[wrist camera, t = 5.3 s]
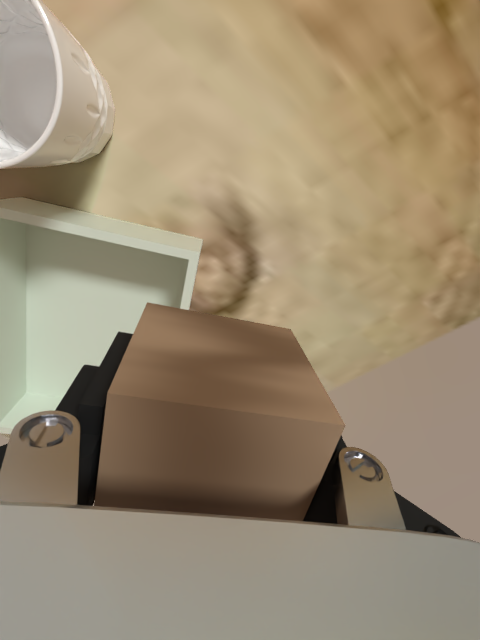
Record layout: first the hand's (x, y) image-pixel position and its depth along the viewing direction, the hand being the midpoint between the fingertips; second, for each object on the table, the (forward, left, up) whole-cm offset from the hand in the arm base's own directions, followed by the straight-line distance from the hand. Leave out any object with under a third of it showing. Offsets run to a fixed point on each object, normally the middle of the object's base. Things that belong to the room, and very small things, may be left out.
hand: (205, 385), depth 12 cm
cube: (0, 0, -1) cm, 1 cm away
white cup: (+12, -9, -17) cm, 22 cm away
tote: (+8, +6, -17) cm, 19 cm away
